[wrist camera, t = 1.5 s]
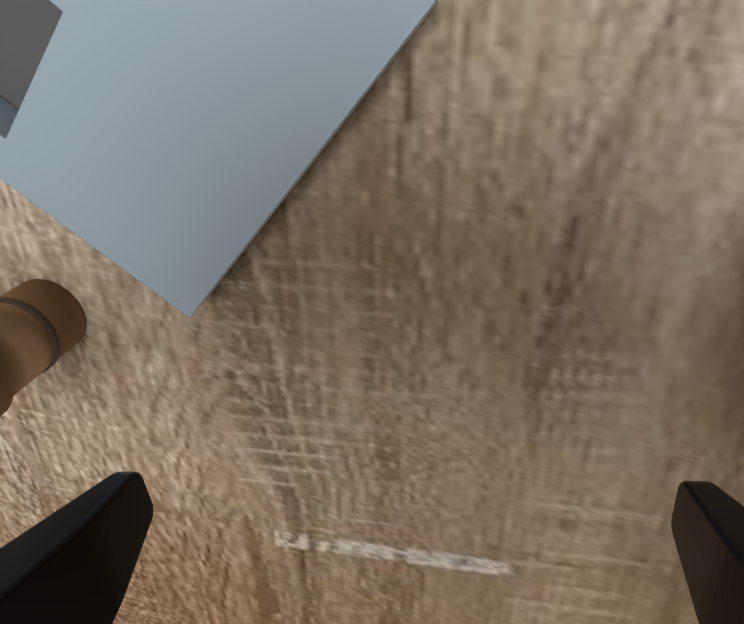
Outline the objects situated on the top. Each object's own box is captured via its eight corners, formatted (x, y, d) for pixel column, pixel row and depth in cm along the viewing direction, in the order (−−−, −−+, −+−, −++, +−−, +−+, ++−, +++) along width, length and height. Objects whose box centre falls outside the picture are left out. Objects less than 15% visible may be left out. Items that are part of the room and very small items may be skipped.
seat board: (438, 1, 17) (437, -2, 15) (209, 295, 23) (189, 317, 21) (-33, -470, 14) (-105, -545, 12) (-158, 19, 19) (-218, 17, 18)
